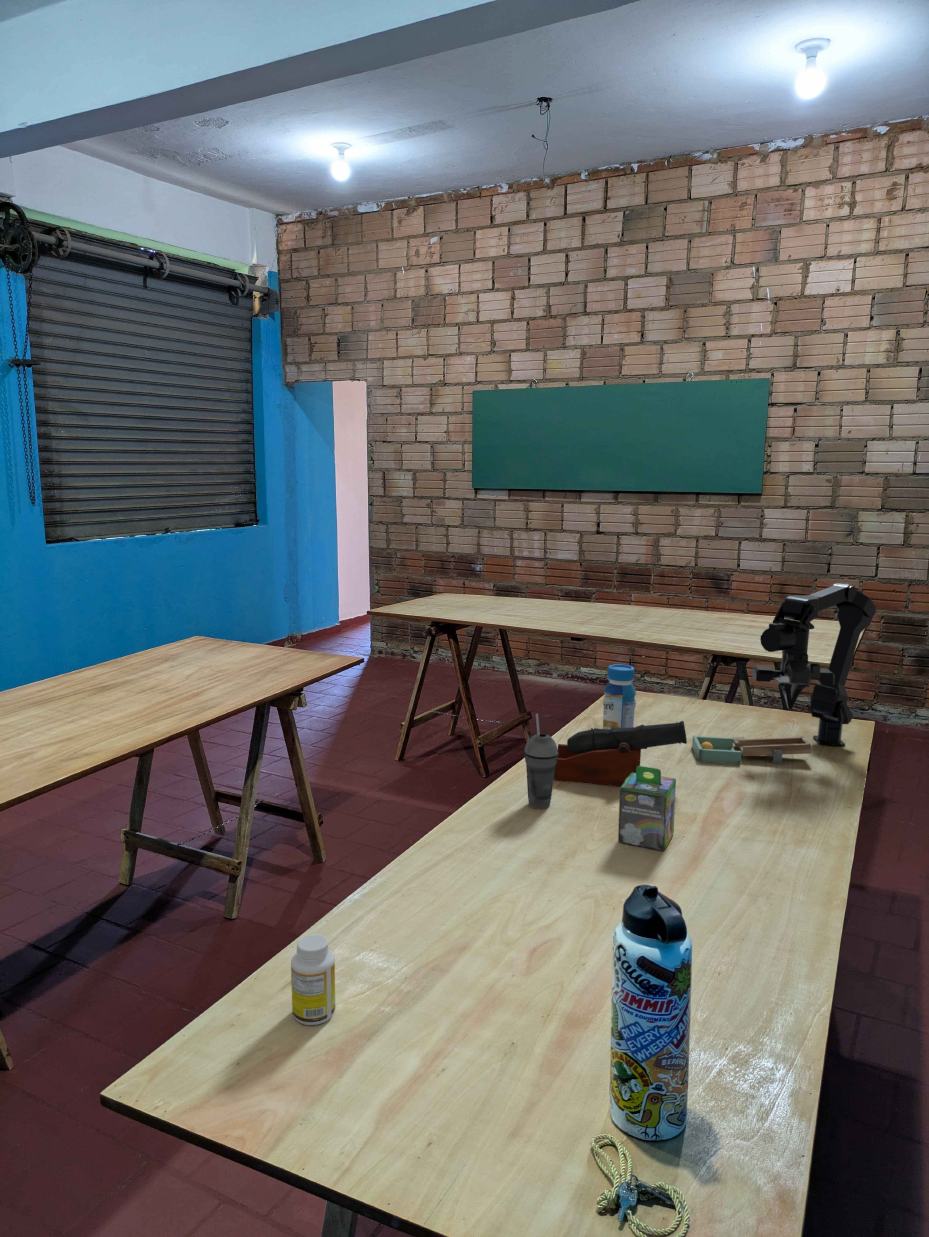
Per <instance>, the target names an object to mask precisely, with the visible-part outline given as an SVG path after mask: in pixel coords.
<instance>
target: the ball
mask: <svg viewBox="0 0 929 1237" xmlns="http://www.w3.org/2000/svg"><path fill="white" fill-rule="evenodd" d="M701 747H702V749H712V750H713V746H712V744H711V743H709V742H704V743H702V744H701Z"/></svg>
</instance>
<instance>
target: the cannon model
mask: <svg viewBox="0 0 929 1237" xmlns="http://www.w3.org/2000/svg"><path fill="white" fill-rule="evenodd" d="M566 742H567V743H565V744H561V743H558V744H557V749H558V757H557V762H556V765H555V773H554V780H553V781H558V782H566V783H567V782H568V783H577V784H586V785H596V786H597V785H599V786H608V787H617V788H620V787H621V786H622V784H623V783H624V782H625V780H626V778H627V777H628V776H629V775H630V774H631V773H636V767H637V766H641V755H642V750H647V749H648V748H653V747H661V746H669V745H676V744H679V745H681V744H684V745H686V744H688V740H687V732H686V728H685V721H684V720H681V721H679V722H678V721H675V722H671V723H661V724H660V723H659V724H648V725H647V724H646V725H644V724H641V725H638V726H633V727H630V728H611V729H603V728H595V727H594V728H593V727H592V728H590V729H587V730H583V731H578V732H576V733H574V734H573V735H572V736H570V737H569V738H567V741H566Z"/></svg>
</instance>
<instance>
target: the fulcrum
mask: <svg viewBox="0 0 929 1237" xmlns="http://www.w3.org/2000/svg"><path fill="white" fill-rule="evenodd" d="M782 752H783V750H780V749H773V755H767V756H768V758H769V759H770V761H771V763H772V764H773V765H782V762H783V760H782V759H783V755H782Z"/></svg>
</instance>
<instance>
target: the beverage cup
mask: <svg viewBox="0 0 929 1237" xmlns="http://www.w3.org/2000/svg"><path fill="white" fill-rule="evenodd" d="M535 722H536V733H537V734H534V735H532V736H531V737H530V738H528V740H527V742H526V744H525V746H524V750H523V755H524V759H525V760H524V761H525V763H526V766H525V767H526V783H527V784H526V786H527V798H528V799H527V801H528V807H530V808H532V809H534V810H536V809H537V810H545V809H548V808H550V807H551V801H552V795H553V787H554V781H555V780H554V773H555V765H556V762H557V757H558V744H557V743H556V741H555V739H554V738H552V737H551V736H550V735H549V734H545V733H540V732H541V731H540V730H541V729H540V720H539V713H535Z"/></svg>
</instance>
